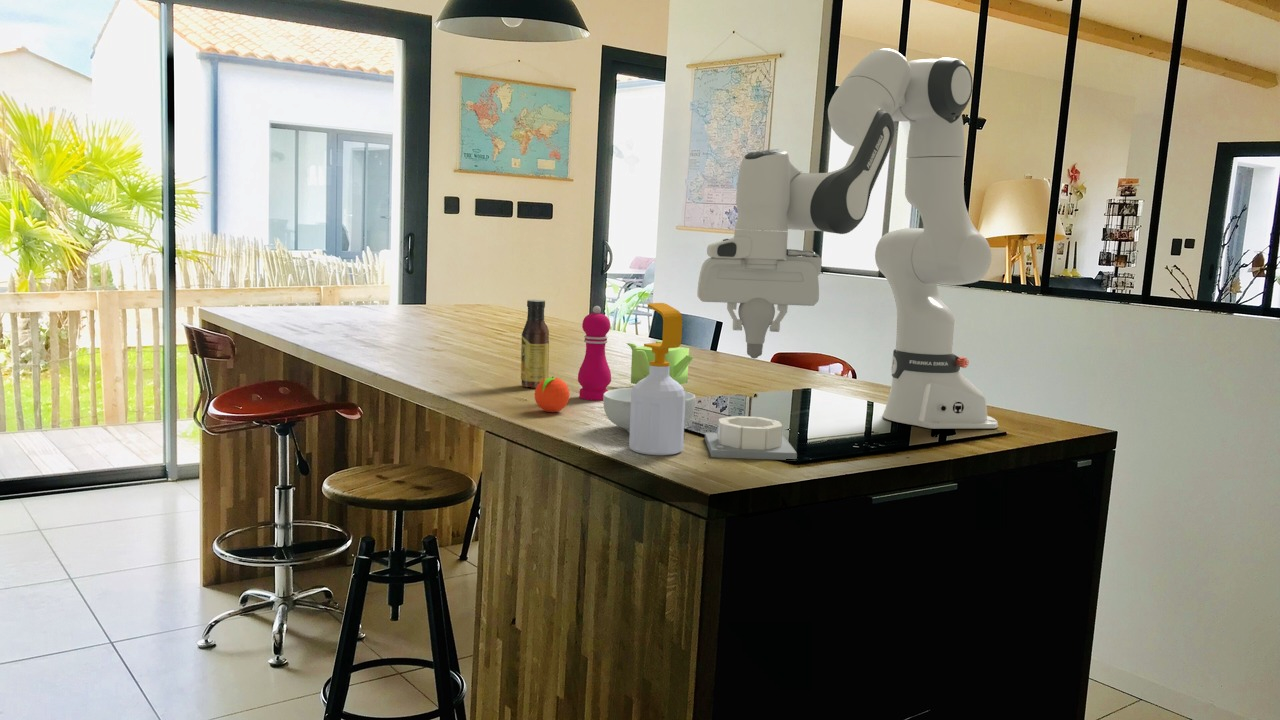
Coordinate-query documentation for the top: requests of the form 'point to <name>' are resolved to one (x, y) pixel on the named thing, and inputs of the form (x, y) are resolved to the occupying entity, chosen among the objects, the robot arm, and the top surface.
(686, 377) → the kettle
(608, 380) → the pepper mill
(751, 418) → the socket ring
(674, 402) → the soap bottle
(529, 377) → the sauce bottle
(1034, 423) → the top surface
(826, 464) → the top surface
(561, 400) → the clementine
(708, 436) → the mounting plate
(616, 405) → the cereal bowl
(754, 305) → the lightbulb
